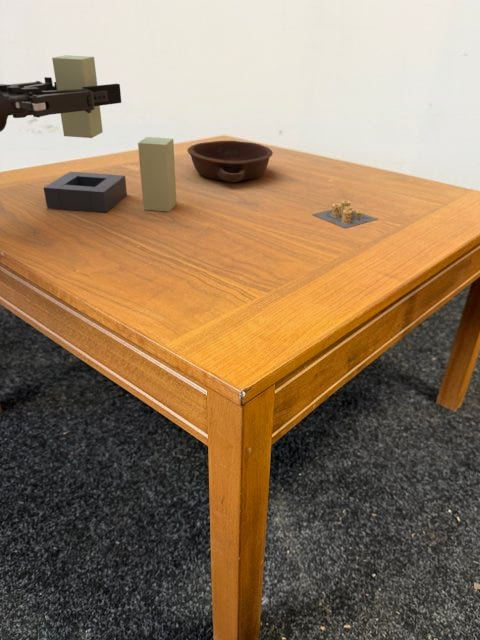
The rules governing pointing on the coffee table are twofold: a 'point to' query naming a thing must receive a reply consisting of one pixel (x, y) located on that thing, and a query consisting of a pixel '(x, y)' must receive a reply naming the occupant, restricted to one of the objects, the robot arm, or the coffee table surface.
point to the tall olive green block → (75, 76)
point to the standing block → (157, 173)
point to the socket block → (85, 192)
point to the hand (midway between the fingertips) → (104, 90)
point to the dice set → (344, 215)
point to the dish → (230, 159)
